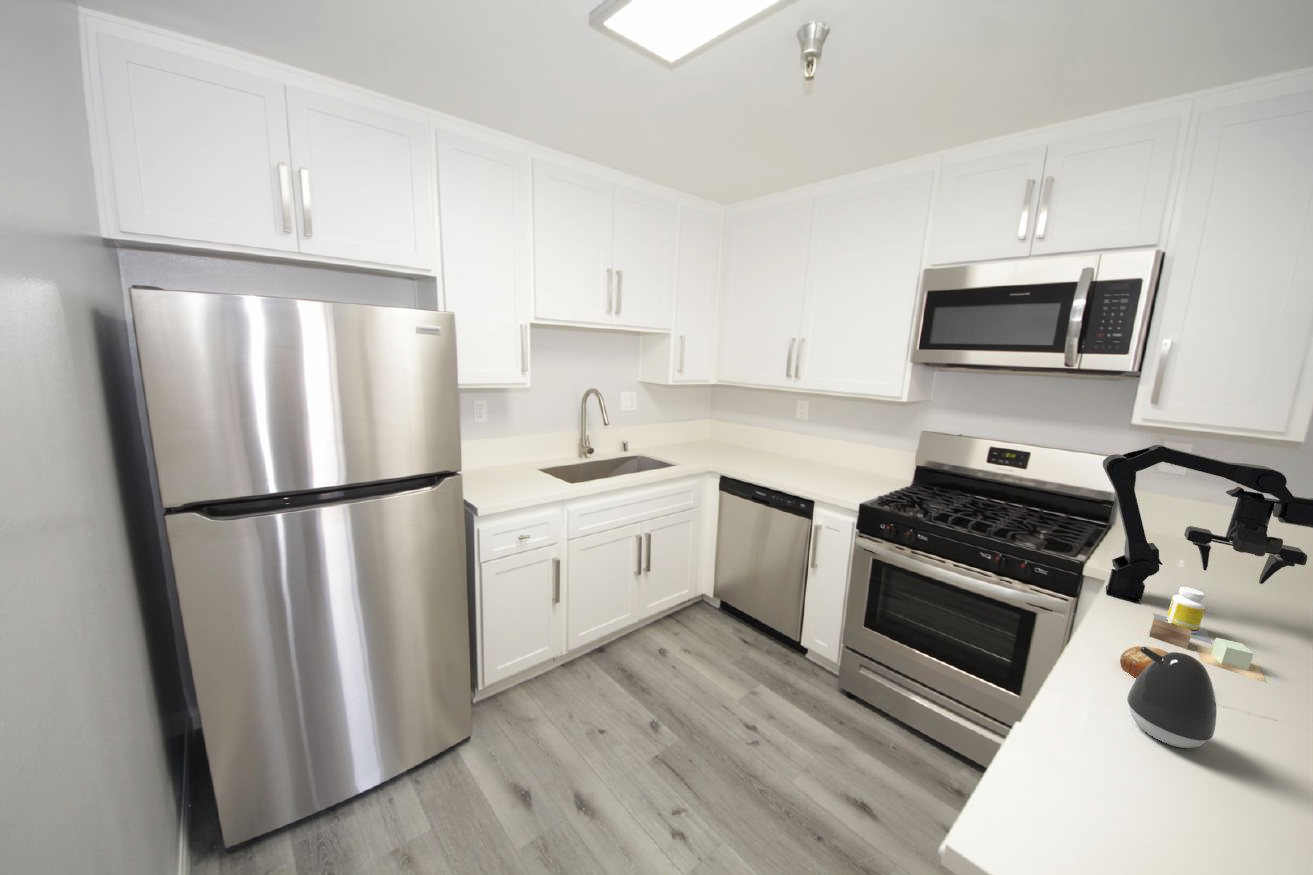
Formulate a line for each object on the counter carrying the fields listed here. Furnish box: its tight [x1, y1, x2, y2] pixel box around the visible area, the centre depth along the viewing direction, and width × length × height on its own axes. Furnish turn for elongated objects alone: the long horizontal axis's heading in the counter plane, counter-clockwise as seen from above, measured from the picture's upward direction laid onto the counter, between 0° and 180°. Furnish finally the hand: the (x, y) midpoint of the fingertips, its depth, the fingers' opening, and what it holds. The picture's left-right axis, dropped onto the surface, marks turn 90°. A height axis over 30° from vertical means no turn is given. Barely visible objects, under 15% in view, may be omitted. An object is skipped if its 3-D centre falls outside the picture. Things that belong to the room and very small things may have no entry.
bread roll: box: [1119, 645, 1170, 679], centre depth 97 cm, size 10×10×8 cm
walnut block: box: [1148, 617, 1192, 650], centre depth 111 cm, size 6×4×4 cm, turn 42°
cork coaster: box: [1194, 643, 1268, 683], centre depth 104 cm, size 9×9×1 cm
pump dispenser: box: [1126, 646, 1218, 749], centre depth 81 cm, size 10×10×15 cm
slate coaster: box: [1152, 613, 1213, 645], centre depth 116 cm, size 9×9×1 cm
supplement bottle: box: [1165, 586, 1206, 633], centre depth 115 cm, size 5×5×10 cm
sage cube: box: [1211, 637, 1254, 670], centre depth 103 cm, size 4×4×4 cm
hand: (1231, 576), depth 120 cm, fingers open, 9 cm apart
